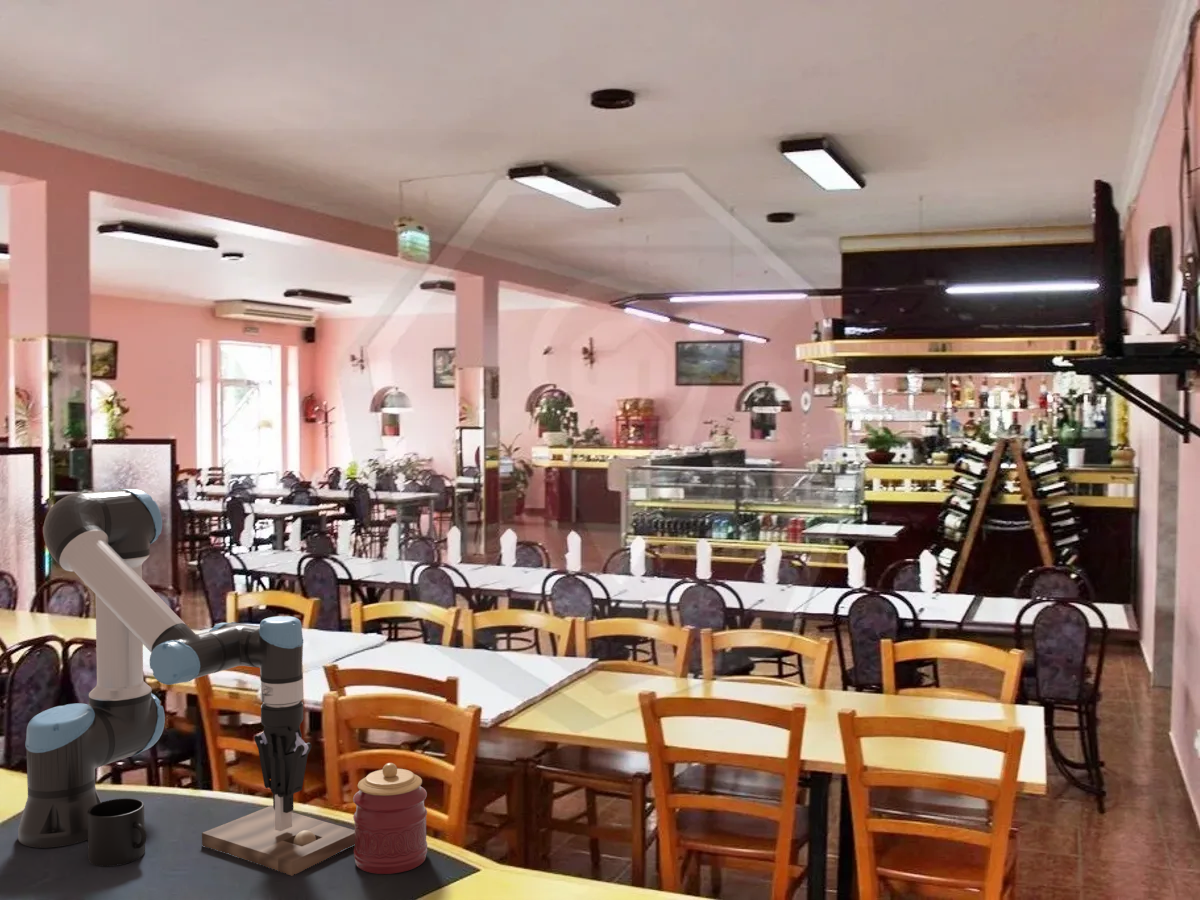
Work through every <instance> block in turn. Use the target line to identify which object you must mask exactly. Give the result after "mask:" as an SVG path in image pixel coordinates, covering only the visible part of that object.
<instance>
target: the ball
mask: <svg viewBox="0 0 1200 900" xmlns="http://www.w3.org/2000/svg"><path fill="white" fill-rule="evenodd" d="M315 840H316V837H315V835H314V834H313V833H312V832H311V831H308V830H304V831H301V832H299V833H298V834H297V835H296V836H295V838H294V844H295V845H299V846H304V845H307V844H309V843H311V842H313V841H315Z"/></svg>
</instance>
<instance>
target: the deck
mask: <svg viewBox="0 0 1200 900" xmlns="http://www.w3.org/2000/svg"><path fill="white" fill-rule="evenodd" d="M304 830H308V831H311V832H312V833H313V834H314V835H315V837H316V840H315V841H313V842H311V843H309V844H307V845H304V846H299V845H295V844H294V838H295V836H296V835H297V834H298V833H299V832H301V831H304ZM354 844H355V829H351V828H348V827H345V826H343V825H342V826H341V825H337V824H335V823H330V822H327V821H324V820H320V819H318V818H317V819H316V818H314V817H310V816H306V815H303V814H299V813H296V812H293V811H292V827H290V828H287V829H285V830H283V831H278V830H275V810H274V807H273V806H272V805H269V806H267V807H264V808H261V809H259V810H257V811H254V812H252V813H249V814H247V815H244V816H241V817H239V818H237V819H233V820H231V821H229V822H227V823H223V824H222V825H221V824H220V825H219V826H216V827H213V828H211V829H208V830H206V831H203V832H202V833H201V846H202V845H203V846H205V847H204V848H206V847H209V848H212V849H216V850H218V851H222V852H225V853H229V854H231V855H234V856H237V857H239V858H243V859H245V860H249V861H252V862H255V863H258V864H261V865H264V866H266V867H265V868H267V867H269V868H268V869H270V868H272V869H271V870H273V869H275V870H274V871H276V870H278V871H277V872H279V871H280V872H279V873H282V872H283V873H282V874H285V873H286V874H285V875H289V876H292V877H293V876H295V875H297V874H299V873H301V872H303V871H305V869H306V870H308V869H310V868H312V867H314V866H315V864H316V865H318V864H320V863H322V862H324V861H323V860H325V859H327V858H329V857H331V856H333V855H335V854H336V853H338V852H340V851H341V850H343V849H345V848H348V847H350V846H352V845H354ZM203 846H202V847H203ZM209 848H208V849H209ZM212 849H211V850H212ZM218 851H217V852H218ZM335 856H336V855H335ZM333 857H334V856H333ZM239 858H238V859H239ZM331 858H332V857H331ZM329 859H330V858H329ZM245 860H244V861H245ZM327 860H328V859H327ZM249 861H248V862H249ZM321 861H322V862H321ZM325 861H326V860H325ZM252 862H251V863H252ZM319 862H320V863H319ZM255 863H254V864H255ZM317 863H318V864H317ZM258 864H257V865H258ZM261 865H260V866H261ZM313 865H314V866H313ZM264 866H263V867H264ZM311 866H312V867H311ZM309 867H310V868H309ZM307 868H308V869H307ZM294 874H295V875H294Z"/></svg>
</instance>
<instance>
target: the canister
mask: <svg viewBox="0 0 1200 900" xmlns="http://www.w3.org/2000/svg"><path fill="white" fill-rule="evenodd" d="M422 784H423V779H422V778H421V776H419V775H417V774H415V773H414V772H412V771H411V770H408V769H405V768H404V769H403V768H398V767H397V765H396V764H395V763H393V762H387V763H385V764H384V765H383V767H382V769H378V770H375V771H372V772H369V773H368V774H367V775H366V777H363V778H362V779H360V780H359V781H358V784H357V789H359V790H358V791H357V792H356V793H355V794H354V795H353V798H352V801H353V803H354V804H355V805H356V809H355V810H356V811H355V812H354V814H353V817H352V818H353V821H354V830H355V846H354V847H353V857H354V861H355V865H356V867H357V868H358V869H360V870H361V871H364V872H367V873H369V874H378V875H379V874H380V875H391V874H399V873H400V874H401V873H405V872H407V871H410V870H413V869H416V868H417V867H419V866H421V865H422V864H423V863H424V862H425V861H426V859H427V853H428V841H427V815H428V809H427V808H426V807H425V800H426V798H427V795H428V792H427V790H426V789H425V787H422V786H421V785H422Z"/></svg>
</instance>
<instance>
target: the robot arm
mask: <svg viewBox="0 0 1200 900" xmlns="http://www.w3.org/2000/svg"><path fill="white" fill-rule="evenodd" d="M43 522H44V523H43V528H42V529H43V530H42V533H43V540H44V543H45V546H46V548H47V550H48V552H49V554H50V555H51V557H52V558H53V559H54V561H55V562H56V563H57V564H58V565H59V566H60V567H61V568H62V570H64V571H66V572H74V573H75V574H76V576H78V578H79V579H81V580H82V582H83V583H84V584H85V585H86V586H87V587H88V588H89V589H90V590H91V591H92V592H93V593H94V594H95V631H96V632H95V635H96V637H95V638H96V639H95V641H96V642H95V643H96V649H95V650H96V651H95V653H96V685H95V687H94V688H93V689H92V690H91V691H89V693H88V704H86V703H80V702H79V703H78V702H77V703H68V704H64V705H57V706H54V707H51V708H48V709H46V710H42V711H41V712H40V713H38V714H36V715H34V716H32V718H31V719H30V720H29V722H28V724H27V726H26V738H25V742H24V745H25V749H26V776H27V779H26V782H27V798H26V803H25V805H24V809H23V812H22V815H21V819H20V821H19V824H18V829H17V830H18V831H17V832H18V833H17V834H18V838H17V839H18V842H19V844H21V845H23V846H26V847H30V848H43V849H44V848H58V847H65V846H71V845H74V844H78V843H81V842H85V841H88V820H87V812H88V810H89V808H91V807H92V806H94V805H96V804H98V803H101V802H102V801H101V799H100V796H99V794H98V791H97V788H96V769H97V768H99V767H103V766H106V765H109V764H111V763H114V762H118V761H121V760H123V759H126V758H129V757H134V756H137V755H139V754H141V753H142V752H145V751H147V750H149V749H151V748H152V747H154V745H155V744H156V743H157V742H158V741H159V740H160V738H161V736H162V734H163V732H164V728H165V719H166V716H165V710H164V706H163V705H161V700H160V699H159V698H158V697H157V695H155V694H154V693H152V687H151V686H150V685H148V683H147V682H145V681H144V651H143V650H144V648H143V647H145V648H146V649H147V650H148V651H149V652H150V655H149V669H151V670H152V676H153V677H154V679H155V680H157V681H158V682H159V683H161V684H163V685H176V684H182V683H188V682H191V681H193V680H194V679H199V678H201V677H206V676H207V675H210V674H215V673H219V672H222V671H226V670H229V669H231V668H236V667H244V666H245V667H251V668H259V670H260V671H259V672H260V679H259V680H260V701H261V702H262V704H261V705H260V723H261V725H262V726H264V727H263V732H262V733H260V734H257V735H254V737H253V738H254V742H255V744H256V747H257V749H258V750H257V751H258V755H259V762H260V767H261V774H262V779H263V786H264V788H265V789H269V790H270V791H271V793H272V801H273V802H272V803H273V804H272V805H273V806H272V807H274V810H275V830H278V831H283V830H285V829H287V828H290V827H292V812H293V811H294V795H295V794H296V793H299V792H301V791H302V790H303V785H304V779H305V773H306V767H307V760H308V756H309V753H310V752H311V749H312V748H313V747H312V746H313V745H312V743H311V742H305V740H304V739H303V738H302V736H303V735H302V732H301V728H300V727H301V724H302V722H303V720H304V703H303V701H302V700H303V699H304V677H303V676H304V675H303V656H304V655H303V650H304V637H303V627H302V621H301V620H300V619H299V618H297V617H295V616H290V615H289V616H288V615H285V616H281V615H279V616H278V615H277V616H269V617H267V618H264V619H262V620H261V621H260V623H259V625H251V624H245V623H239V622H237V621H236V622H235V621H233V622H220V623H217V624H214V626H213V627H212V628H211V629H210V630H209V631H206V632H202V633H201V632H200V633H198V634H197V633H196V632H194V630H192V628H190V626H188V625H187V623H185V622H184V621H183V619H181V618H180V617H179V615H177V614H176V613H175V612H174V611H173V609H171V607H170V606H169V605H168V604H167V603H166V602H165V601H164V600H163V599H162V598H161V597H160V596H159V595H158V593H156V592H155V591H154V590H153V589H152V587H150V585H149V584H148V583H146V581H145V580H143V572H142V571H143V570H142V569H143V563H144V562H145V561H147V559H148V558H150V554H151V553H150V552H151V551H150V549H151V547H150V545H152V544H153V543H155V542H156V541H157V540H158V538H159V536H160V535H161V533H162V530H163V516H162V512H161V509H160V507H159V505H158V503H157V502H156V501H155V500H154V499H153V497H152V496H151V495H150V494H149V493H147V492H146V491H143V490H141V489H136V488H134V489H133V488H117V489H108V490H99V491H92V492H91V491H90V492H75V493H72V494H71V493H70V494H68V495H66V496H64V497H62V498H61V499H59V500H57V501H56V502H55V504H53V505H52V507H50V509H49V511H48V512H47V513H46V515H45V519H44V521H43Z"/></svg>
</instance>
